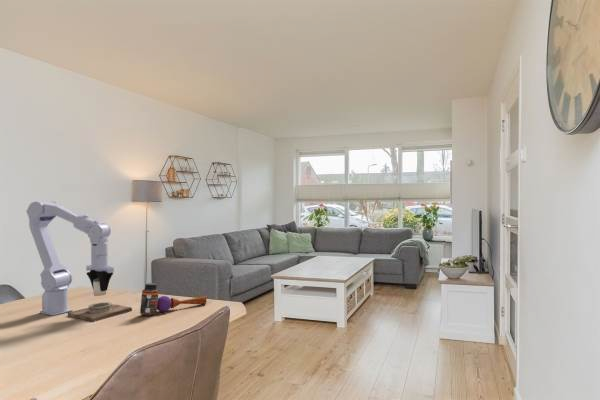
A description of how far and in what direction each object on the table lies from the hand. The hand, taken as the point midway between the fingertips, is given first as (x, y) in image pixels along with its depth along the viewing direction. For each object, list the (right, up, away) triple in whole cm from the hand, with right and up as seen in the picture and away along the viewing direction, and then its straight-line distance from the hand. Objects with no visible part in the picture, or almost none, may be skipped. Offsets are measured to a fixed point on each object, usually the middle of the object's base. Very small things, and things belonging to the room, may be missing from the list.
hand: (100, 290), depth 153 cm
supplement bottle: (+20, -8, -4) cm, 22 cm away
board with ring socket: (0, -9, 0) cm, 9 cm away
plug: (0, -2, 0) cm, 2 cm away
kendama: (+30, -9, +5) cm, 32 cm away
